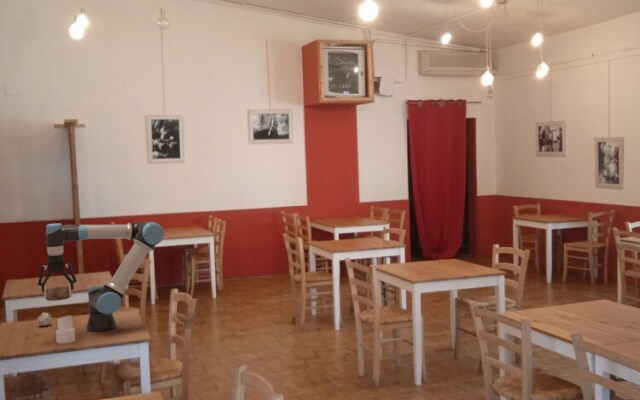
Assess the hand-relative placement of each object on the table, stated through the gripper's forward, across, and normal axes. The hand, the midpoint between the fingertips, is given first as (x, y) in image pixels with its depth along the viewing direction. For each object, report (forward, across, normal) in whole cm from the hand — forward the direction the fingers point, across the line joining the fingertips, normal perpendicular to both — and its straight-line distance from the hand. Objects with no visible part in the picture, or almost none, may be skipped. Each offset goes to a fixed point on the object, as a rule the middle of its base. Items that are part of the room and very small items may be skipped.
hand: (58, 297), depth 340 cm
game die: (+22, +12, -38) cm, 46 cm away
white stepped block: (+22, -2, +2) cm, 22 cm away
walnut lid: (0, 0, 0) cm, 0 cm away
